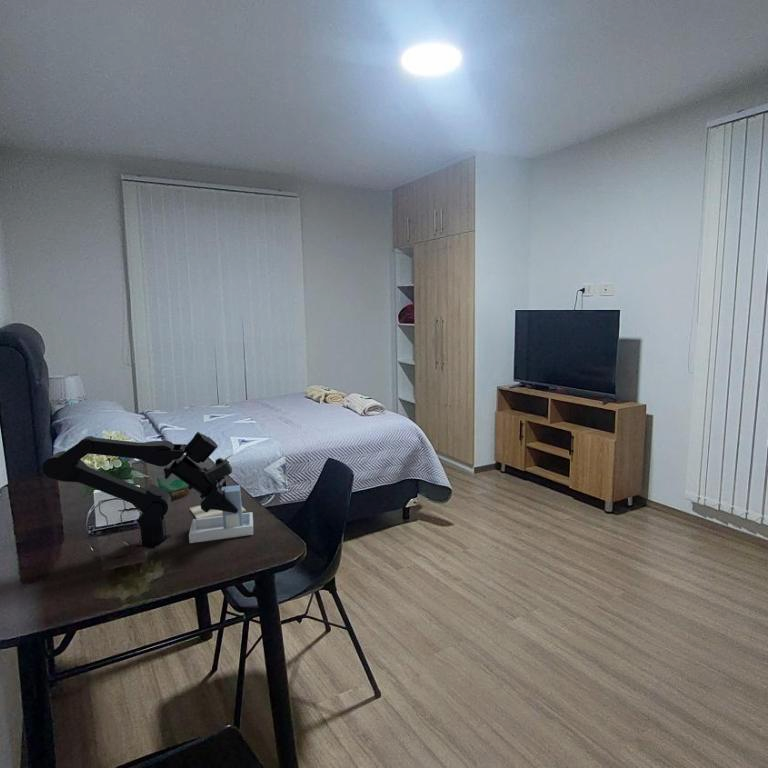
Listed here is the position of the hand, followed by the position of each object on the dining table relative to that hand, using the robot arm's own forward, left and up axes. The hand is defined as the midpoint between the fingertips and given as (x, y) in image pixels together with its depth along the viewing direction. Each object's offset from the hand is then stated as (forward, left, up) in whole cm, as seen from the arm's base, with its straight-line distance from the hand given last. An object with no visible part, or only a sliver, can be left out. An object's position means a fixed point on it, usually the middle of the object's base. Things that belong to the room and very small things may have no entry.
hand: (237, 508), depth 147 cm
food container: (+24, +34, -7) cm, 43 cm away
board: (+12, +13, -7) cm, 19 cm away
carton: (-1, +1, -6) cm, 6 cm away
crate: (-2, +4, -7) cm, 8 cm away
